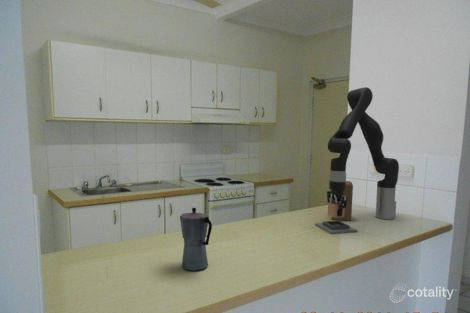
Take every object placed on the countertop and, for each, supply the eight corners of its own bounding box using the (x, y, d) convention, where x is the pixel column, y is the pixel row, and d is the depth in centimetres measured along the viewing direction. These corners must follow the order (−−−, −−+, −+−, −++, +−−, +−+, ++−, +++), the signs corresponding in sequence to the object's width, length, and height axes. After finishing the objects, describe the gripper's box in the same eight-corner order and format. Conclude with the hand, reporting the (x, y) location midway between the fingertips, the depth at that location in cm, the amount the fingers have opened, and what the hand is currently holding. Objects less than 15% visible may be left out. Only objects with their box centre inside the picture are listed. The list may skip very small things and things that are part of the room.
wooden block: (331, 219, 168) (333, 182, 166) (331, 215, 177) (332, 180, 176) (351, 221, 165) (353, 184, 163) (350, 216, 174) (351, 181, 173)
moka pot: (191, 256, 115) (191, 202, 113) (222, 268, 105) (223, 209, 104) (170, 264, 108) (170, 207, 106) (202, 278, 98) (202, 215, 96)
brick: (337, 213, 155) (338, 202, 154) (344, 216, 149) (344, 204, 149) (327, 214, 153) (328, 202, 153) (334, 217, 148) (334, 204, 147)
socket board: (339, 223, 160) (339, 218, 160) (357, 232, 147) (357, 226, 147) (315, 225, 157) (315, 220, 156) (331, 234, 143) (331, 228, 143)
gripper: (353, 182, 144) (351, 218, 145) (335, 177, 158) (334, 210, 159) (339, 182, 142) (337, 219, 143) (322, 177, 156) (321, 211, 157)
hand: (335, 214), depth 151 cm, fingers closed on brick, 5 cm apart
